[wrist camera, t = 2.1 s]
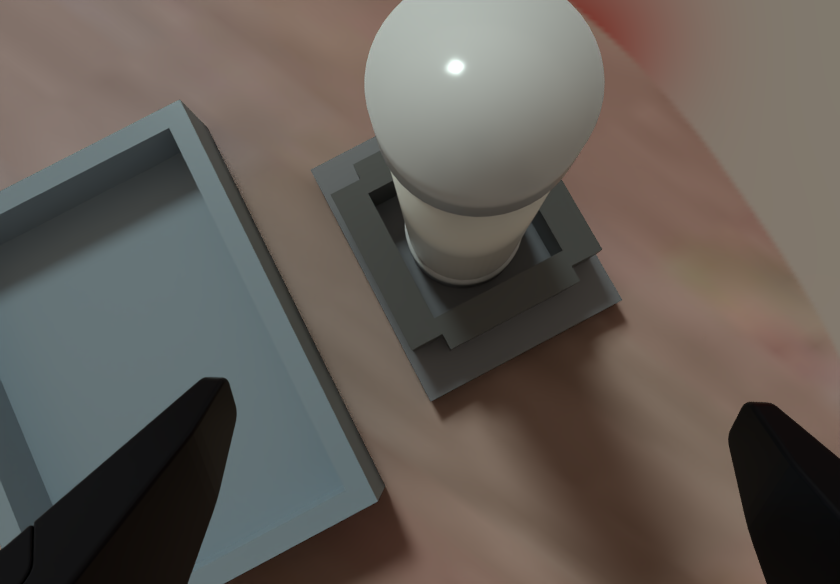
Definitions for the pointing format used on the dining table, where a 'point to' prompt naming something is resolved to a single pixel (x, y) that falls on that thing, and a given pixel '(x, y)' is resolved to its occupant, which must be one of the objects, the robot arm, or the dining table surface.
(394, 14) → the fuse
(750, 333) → the dining table surface
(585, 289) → the grey piece
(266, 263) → the parts tray
